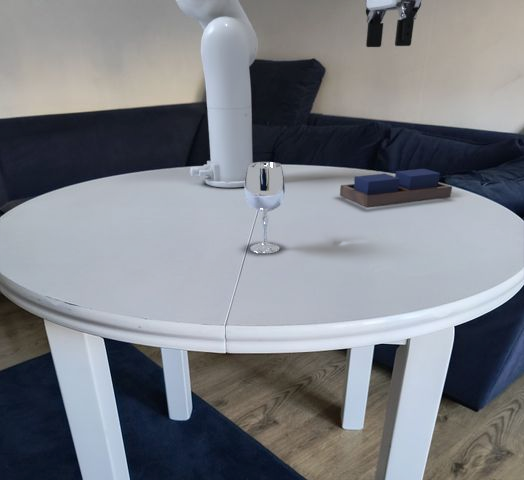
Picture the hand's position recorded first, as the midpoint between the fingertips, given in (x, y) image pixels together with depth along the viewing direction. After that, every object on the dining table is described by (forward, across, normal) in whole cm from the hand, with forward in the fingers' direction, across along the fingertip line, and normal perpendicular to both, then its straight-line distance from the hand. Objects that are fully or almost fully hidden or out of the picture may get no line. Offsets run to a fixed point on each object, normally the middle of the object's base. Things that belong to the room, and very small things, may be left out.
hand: (387, 46), depth 93 cm
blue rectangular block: (+26, +11, +3) cm, 28 cm away
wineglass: (+26, +28, -37) cm, 53 cm away
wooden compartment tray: (+26, +11, -2) cm, 29 cm away
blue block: (+26, +11, -7) cm, 29 cm away
